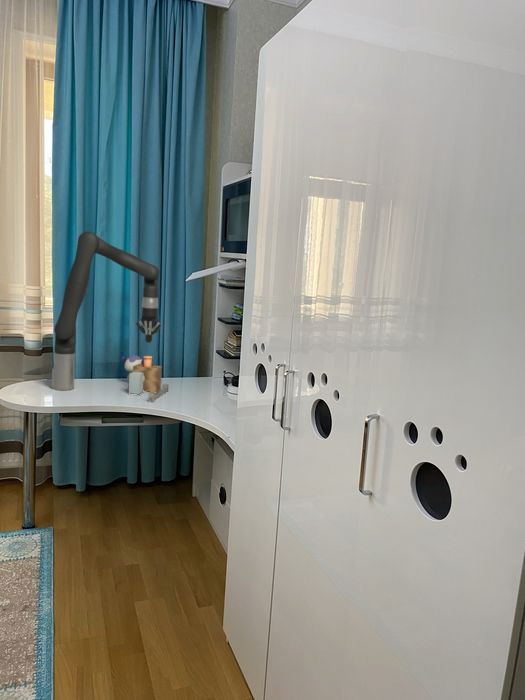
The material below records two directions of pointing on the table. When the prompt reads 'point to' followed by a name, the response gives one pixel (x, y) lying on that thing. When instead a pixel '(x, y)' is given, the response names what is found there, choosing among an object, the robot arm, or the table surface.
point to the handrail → (158, 393)
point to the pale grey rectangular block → (136, 383)
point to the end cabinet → (150, 377)
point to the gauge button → (147, 361)
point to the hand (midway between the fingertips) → (148, 342)
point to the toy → (132, 363)
